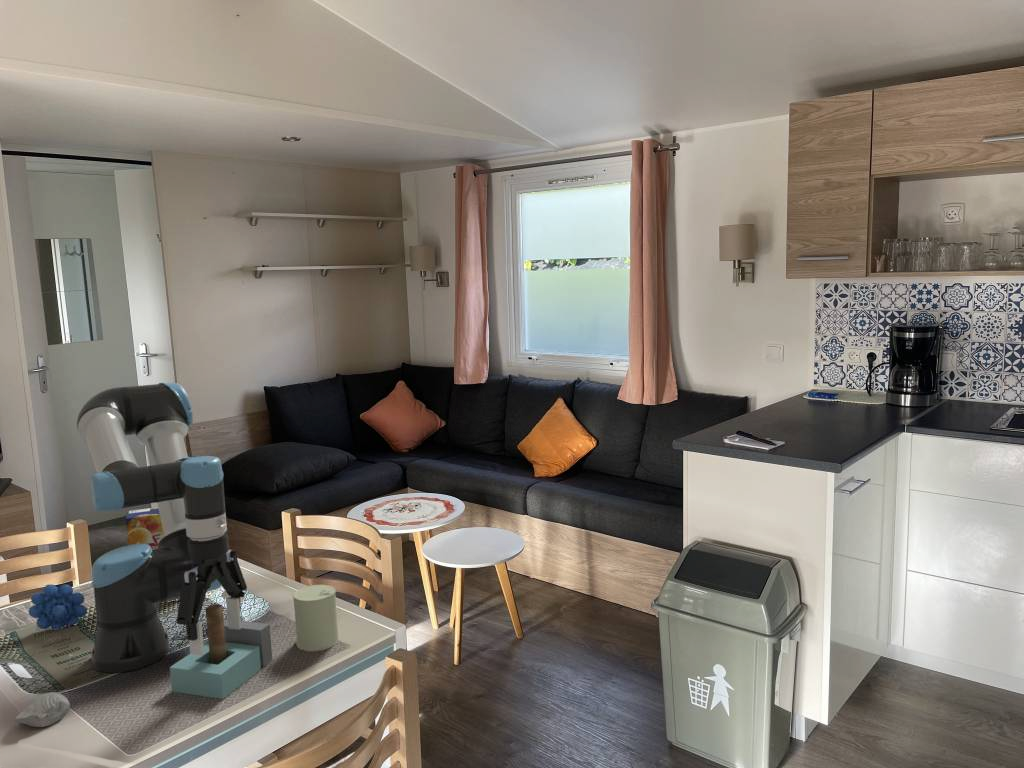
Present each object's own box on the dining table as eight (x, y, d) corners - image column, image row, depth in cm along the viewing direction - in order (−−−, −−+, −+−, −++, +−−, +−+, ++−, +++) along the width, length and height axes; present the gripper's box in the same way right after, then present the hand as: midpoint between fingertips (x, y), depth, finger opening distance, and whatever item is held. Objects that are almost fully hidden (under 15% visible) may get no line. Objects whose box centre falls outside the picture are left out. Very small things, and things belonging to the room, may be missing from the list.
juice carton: (187, 593, 203) (179, 504, 200) (187, 604, 196) (178, 512, 193) (137, 602, 199) (127, 511, 196) (134, 613, 192) (125, 518, 189)
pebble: (46, 735, 140) (43, 709, 139) (7, 732, 141) (3, 706, 141) (80, 709, 148) (77, 684, 148) (43, 706, 150) (40, 682, 149)
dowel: (208, 680, 157) (201, 610, 155) (218, 673, 160) (212, 603, 158) (221, 682, 156) (215, 611, 154) (232, 675, 159) (225, 605, 157)
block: (171, 691, 153) (169, 667, 153) (212, 662, 165) (210, 640, 164) (223, 699, 150) (221, 674, 149) (260, 669, 161) (259, 646, 160)
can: (328, 653, 167) (324, 599, 166) (288, 650, 169) (284, 597, 168) (345, 634, 176) (342, 583, 175) (308, 631, 178) (304, 581, 176)
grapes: (33, 646, 176) (27, 595, 174) (30, 635, 181) (24, 586, 179) (91, 631, 182) (86, 582, 181) (87, 621, 188) (81, 574, 186)
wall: (215, 660, 166) (212, 624, 165) (224, 653, 168) (221, 618, 167) (263, 666, 162) (260, 630, 161) (272, 660, 165) (269, 624, 164)
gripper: (181, 556, 142) (192, 670, 145) (259, 518, 164) (267, 618, 167) (148, 553, 144) (159, 666, 147) (229, 516, 166) (237, 614, 169)
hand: (216, 640), depth 157 cm, fingers open, 11 cm apart
